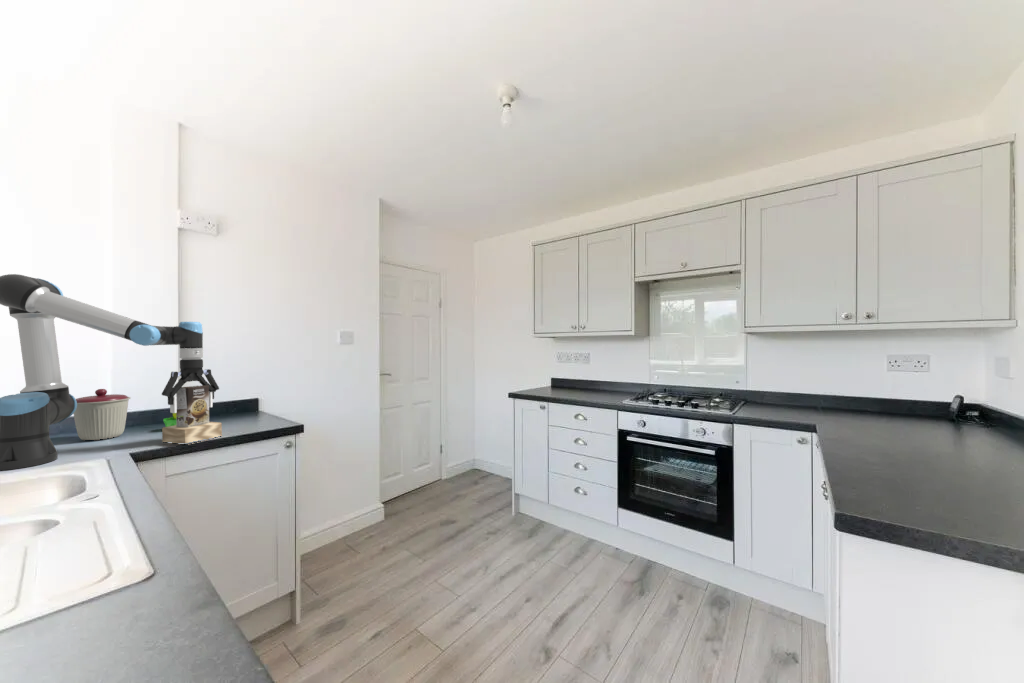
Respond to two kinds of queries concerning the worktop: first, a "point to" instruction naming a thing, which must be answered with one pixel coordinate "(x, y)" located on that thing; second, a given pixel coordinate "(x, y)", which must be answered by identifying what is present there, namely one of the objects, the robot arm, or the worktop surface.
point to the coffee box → (192, 406)
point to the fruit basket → (170, 420)
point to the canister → (101, 415)
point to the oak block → (191, 432)
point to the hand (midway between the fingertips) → (192, 409)
